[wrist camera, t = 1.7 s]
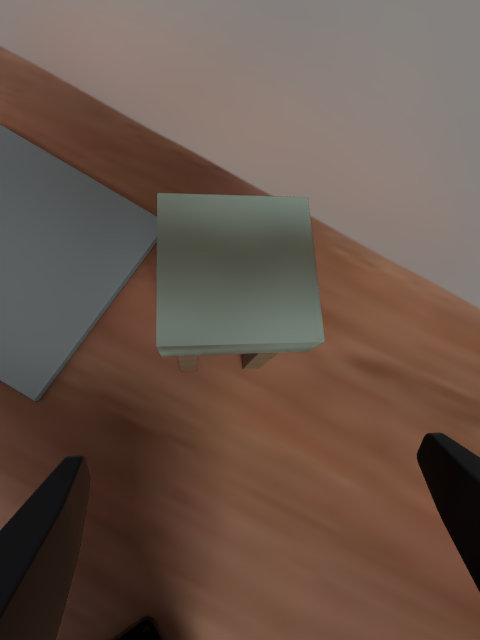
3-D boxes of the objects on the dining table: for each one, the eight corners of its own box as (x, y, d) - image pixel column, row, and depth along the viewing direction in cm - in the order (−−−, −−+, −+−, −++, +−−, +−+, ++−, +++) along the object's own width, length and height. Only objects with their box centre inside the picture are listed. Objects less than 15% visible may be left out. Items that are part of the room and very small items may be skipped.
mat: (38, 401, 21) (34, 400, 21) (-156, 282, 22) (-166, 279, 21) (167, 227, 25) (167, 222, 25) (2, 129, 26) (-3, 123, 25)
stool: (265, 375, 24) (324, 341, 13) (173, 379, 23) (156, 346, 12) (259, 289, 25) (308, 197, 15) (172, 290, 24) (157, 193, 14)
